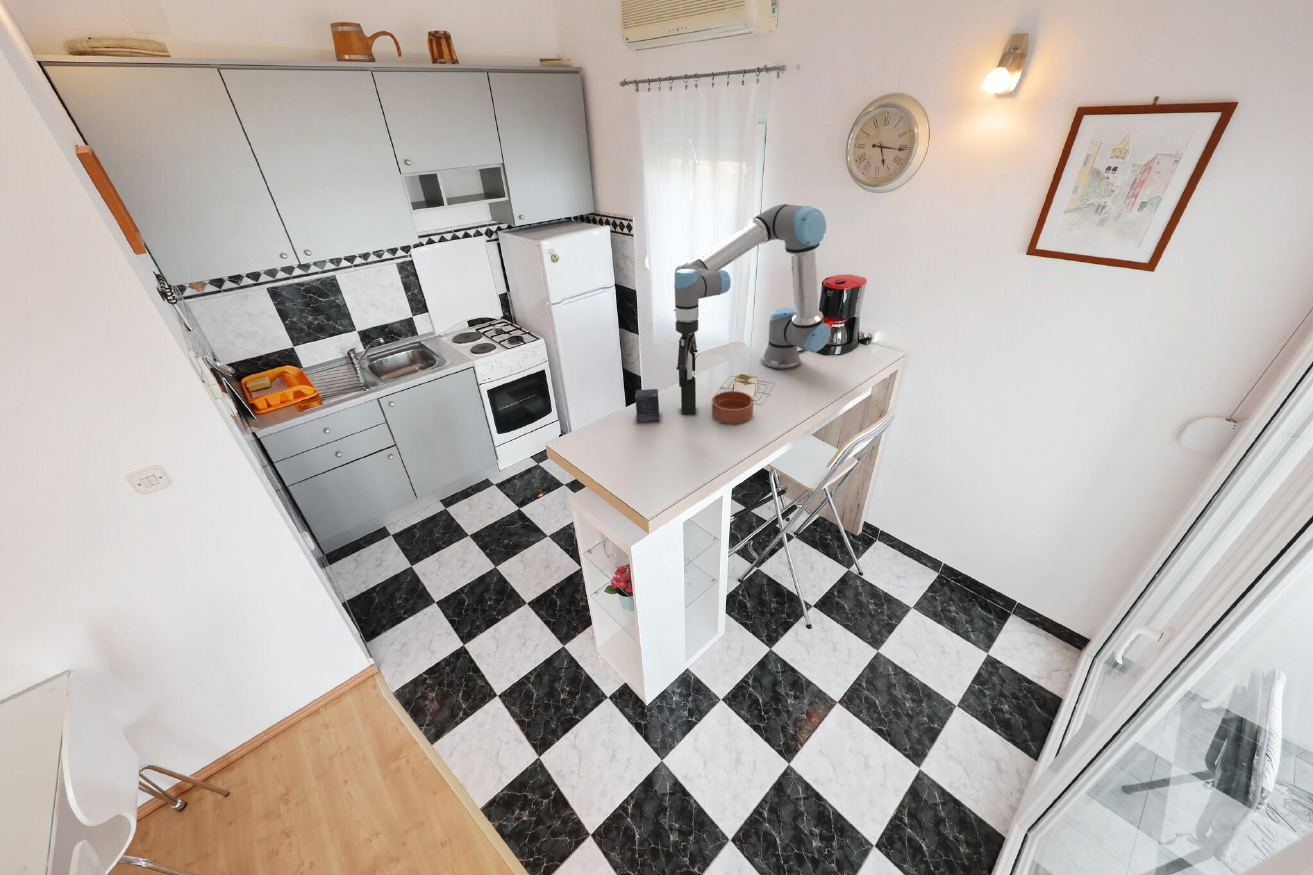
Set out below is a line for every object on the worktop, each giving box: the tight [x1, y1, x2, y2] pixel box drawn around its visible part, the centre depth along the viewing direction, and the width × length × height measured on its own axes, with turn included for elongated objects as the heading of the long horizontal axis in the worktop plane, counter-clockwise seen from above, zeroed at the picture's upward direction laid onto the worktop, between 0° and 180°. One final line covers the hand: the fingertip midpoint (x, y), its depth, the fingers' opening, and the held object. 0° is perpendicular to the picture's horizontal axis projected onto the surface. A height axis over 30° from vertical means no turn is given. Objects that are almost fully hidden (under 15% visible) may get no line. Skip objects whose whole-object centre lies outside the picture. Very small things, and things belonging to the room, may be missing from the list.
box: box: [634, 388, 660, 424], centre depth 176 cm, size 8×6×11 cm
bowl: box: [711, 390, 755, 425], centre depth 177 cm, size 14×14×6 cm
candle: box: [680, 352, 697, 416], centre depth 176 cm, size 5×5×25 cm
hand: (687, 378), depth 175 cm, fingers open, 13 cm apart
